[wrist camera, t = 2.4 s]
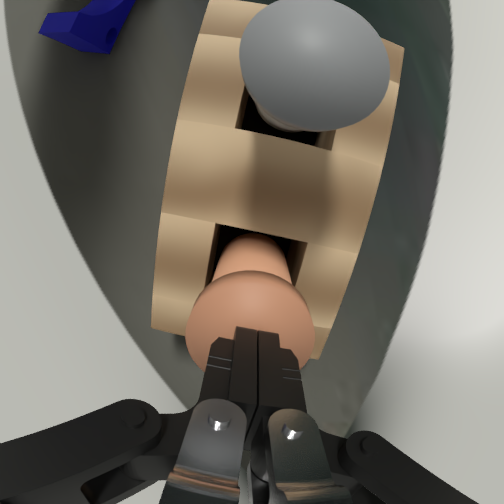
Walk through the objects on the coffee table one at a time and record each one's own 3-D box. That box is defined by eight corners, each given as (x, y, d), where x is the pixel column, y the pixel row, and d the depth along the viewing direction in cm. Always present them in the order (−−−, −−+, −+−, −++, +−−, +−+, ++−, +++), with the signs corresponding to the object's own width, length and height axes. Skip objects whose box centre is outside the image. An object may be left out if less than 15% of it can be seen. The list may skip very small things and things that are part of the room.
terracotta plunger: (220, 218, 17) (193, 270, 10) (301, 236, 17) (332, 298, 10) (207, 292, 19) (180, 375, 11) (281, 307, 19) (293, 394, 12)
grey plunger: (257, 51, 14) (257, -17, 6) (340, 72, 14) (396, 24, 7) (238, 129, 15) (223, 109, 8) (323, 148, 16) (376, 148, 8)
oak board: (220, 29, 16) (210, -2, 11) (373, 67, 17) (403, 47, 12) (170, 292, 23) (150, 327, 18) (307, 320, 23) (318, 359, 18)
